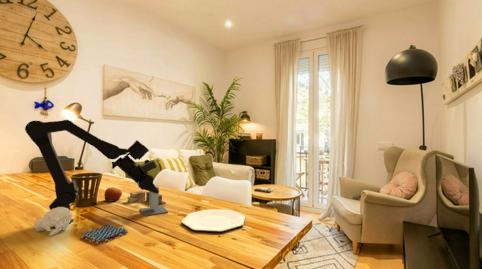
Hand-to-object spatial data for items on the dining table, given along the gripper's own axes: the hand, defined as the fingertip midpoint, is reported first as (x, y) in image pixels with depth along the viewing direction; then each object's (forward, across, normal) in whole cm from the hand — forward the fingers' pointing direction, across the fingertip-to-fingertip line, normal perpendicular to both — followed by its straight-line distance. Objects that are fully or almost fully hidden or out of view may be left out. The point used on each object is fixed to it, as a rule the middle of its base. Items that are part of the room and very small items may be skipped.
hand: (157, 191), depth 104 cm
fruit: (-5, +28, +18) cm, 34 cm away
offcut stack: (+2, +22, +10) cm, 24 cm away
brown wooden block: (+8, +15, +4) cm, 18 cm away
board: (+4, 0, +6) cm, 7 cm away
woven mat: (-7, -19, +21) cm, 29 cm away
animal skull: (-19, -7, +32) cm, 38 cm away
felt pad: (+5, 0, +7) cm, 9 cm away
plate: (+19, -24, -6) cm, 31 cm away
